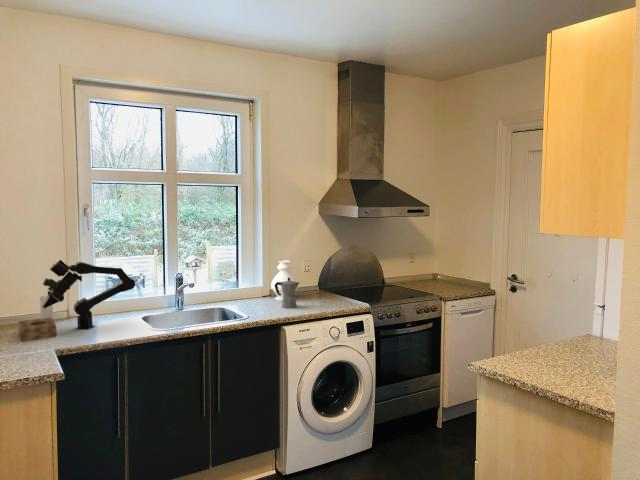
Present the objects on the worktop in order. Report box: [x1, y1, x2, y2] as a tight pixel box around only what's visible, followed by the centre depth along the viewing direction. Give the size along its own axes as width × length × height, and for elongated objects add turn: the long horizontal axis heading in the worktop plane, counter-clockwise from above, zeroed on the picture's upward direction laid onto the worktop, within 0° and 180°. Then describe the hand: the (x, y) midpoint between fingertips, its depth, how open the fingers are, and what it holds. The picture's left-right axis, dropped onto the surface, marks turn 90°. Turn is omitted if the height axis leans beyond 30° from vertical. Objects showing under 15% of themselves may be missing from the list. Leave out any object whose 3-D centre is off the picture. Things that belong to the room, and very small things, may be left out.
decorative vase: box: [270, 259, 299, 301], centre depth 330 cm, size 18×18×25 cm
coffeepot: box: [275, 278, 300, 309], centre depth 305 cm, size 15×9×18 cm, turn 103°
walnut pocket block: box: [17, 317, 57, 342], centre depth 247 cm, size 15×20×6 cm
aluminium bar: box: [39, 294, 54, 319], centre depth 249 cm, size 5×5×10 cm
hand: (43, 306), depth 248 cm, fingers closed on aluminium bar, 5 cm apart
